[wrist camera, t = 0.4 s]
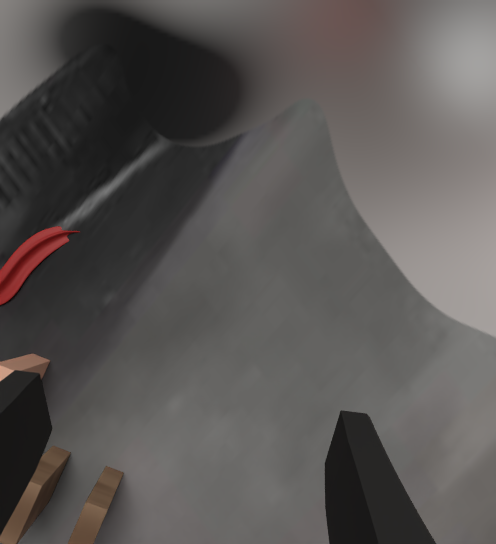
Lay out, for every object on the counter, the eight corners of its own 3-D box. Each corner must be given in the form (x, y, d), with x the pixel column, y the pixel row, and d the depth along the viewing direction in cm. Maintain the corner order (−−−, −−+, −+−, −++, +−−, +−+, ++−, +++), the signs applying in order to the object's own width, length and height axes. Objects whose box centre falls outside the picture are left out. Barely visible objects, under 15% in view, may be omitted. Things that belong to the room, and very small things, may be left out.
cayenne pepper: (-42, 323, 36) (-55, 324, 34) (-62, 271, 37) (-76, 268, 35) (101, 268, 38) (97, 266, 36) (81, 218, 38) (75, 213, 36)
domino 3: (102, 521, 36) (81, 571, 29) (84, 515, 36) (59, 563, 29) (123, 472, 36) (107, 510, 29) (106, 466, 36) (85, 501, 29)
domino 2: (48, 501, 36) (14, 547, 29) (30, 494, 35) (-9, 539, 28) (70, 452, 36) (41, 485, 29) (53, 445, 36) (19, 477, 29)
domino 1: (28, 407, 36) (-11, 430, 29) (10, 400, 36) (-34, 422, 29) (50, 360, 36) (17, 371, 30) (32, 353, 36) (-5, 363, 29)
